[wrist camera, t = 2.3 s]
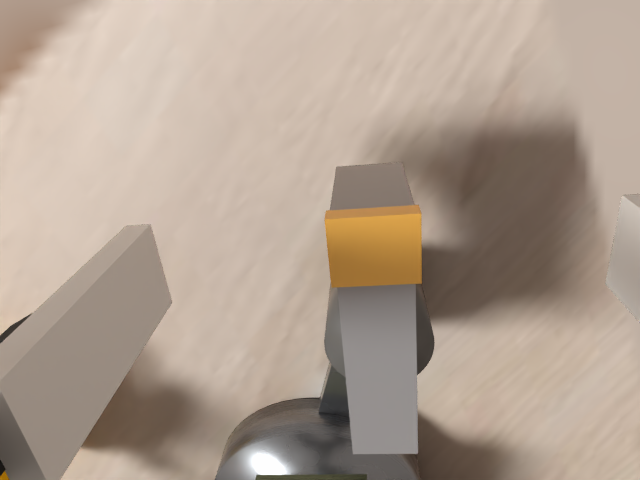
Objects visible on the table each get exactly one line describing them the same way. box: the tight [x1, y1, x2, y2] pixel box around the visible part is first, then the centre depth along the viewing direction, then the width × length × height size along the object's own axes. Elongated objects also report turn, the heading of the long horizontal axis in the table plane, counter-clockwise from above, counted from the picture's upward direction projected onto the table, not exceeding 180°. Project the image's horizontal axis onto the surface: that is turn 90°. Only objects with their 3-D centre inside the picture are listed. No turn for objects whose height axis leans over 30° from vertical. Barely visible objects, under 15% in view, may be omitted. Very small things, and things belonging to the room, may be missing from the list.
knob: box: [324, 162, 434, 454], centre depth 18 cm, size 10×4×9 cm, turn 6°
